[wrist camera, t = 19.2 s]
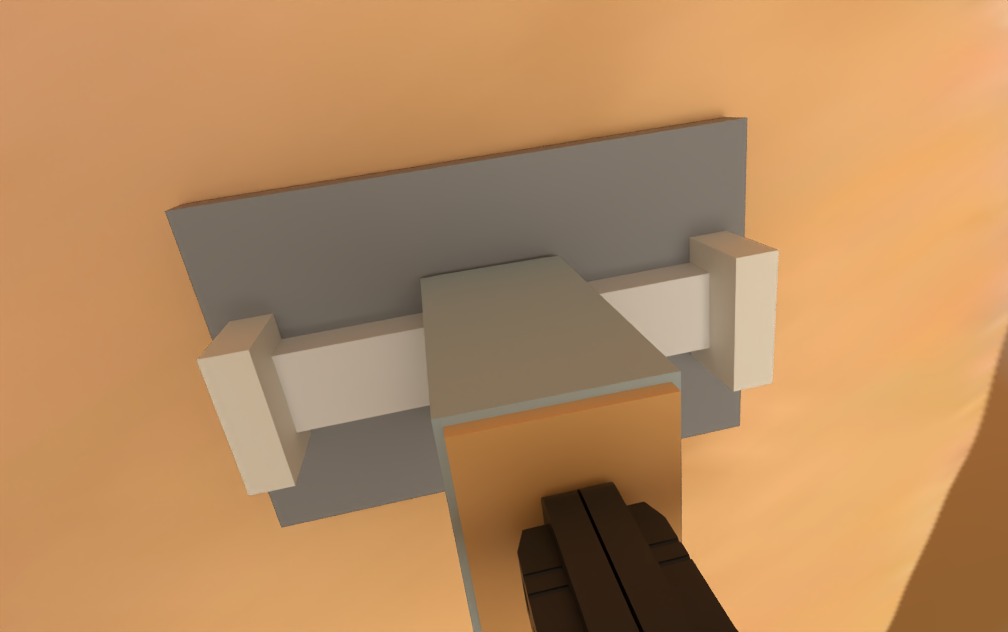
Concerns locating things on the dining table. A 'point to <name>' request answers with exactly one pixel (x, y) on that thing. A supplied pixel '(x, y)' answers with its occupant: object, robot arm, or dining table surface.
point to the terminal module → (539, 414)
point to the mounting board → (453, 248)
